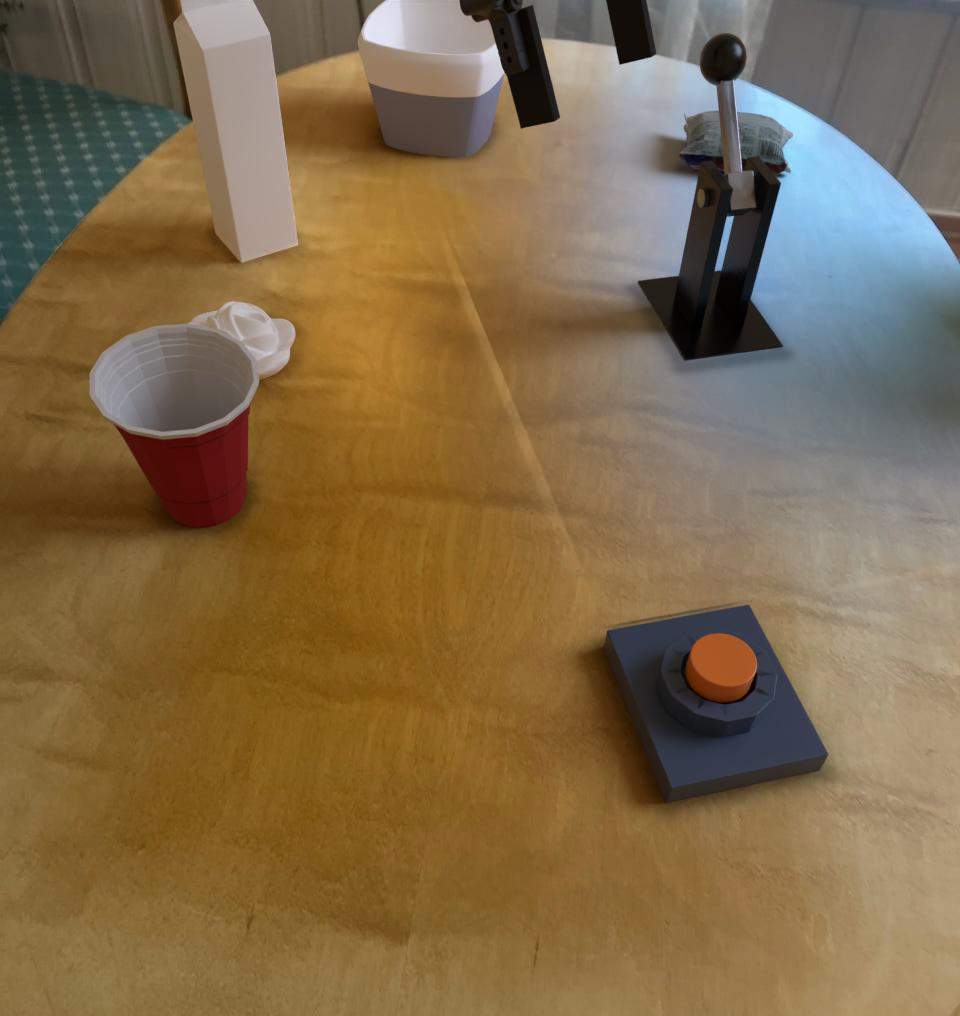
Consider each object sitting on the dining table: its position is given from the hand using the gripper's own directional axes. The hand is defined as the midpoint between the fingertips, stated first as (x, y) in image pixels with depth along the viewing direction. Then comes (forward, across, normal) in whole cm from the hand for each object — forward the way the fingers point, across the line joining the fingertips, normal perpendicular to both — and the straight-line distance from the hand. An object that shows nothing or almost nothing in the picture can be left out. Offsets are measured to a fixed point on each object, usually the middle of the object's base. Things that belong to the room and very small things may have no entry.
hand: (591, 90), depth 70 cm
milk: (+7, +1, -39) cm, 40 cm away
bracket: (+23, -12, -2) cm, 26 cm away
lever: (+8, -15, +1) cm, 17 cm away
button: (+28, +26, +16) cm, 42 cm away
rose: (+11, +15, -30) cm, 35 cm away
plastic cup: (+16, +30, -21) cm, 40 cm away
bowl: (+6, -27, -38) cm, 47 cm away
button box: (+32, +26, +15) cm, 43 cm away
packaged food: (+18, -40, -11) cm, 45 cm away
